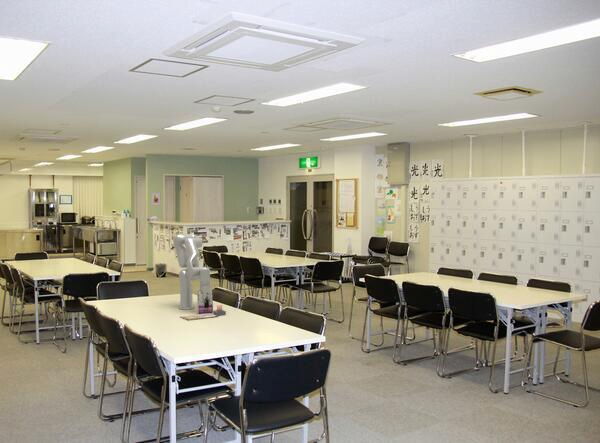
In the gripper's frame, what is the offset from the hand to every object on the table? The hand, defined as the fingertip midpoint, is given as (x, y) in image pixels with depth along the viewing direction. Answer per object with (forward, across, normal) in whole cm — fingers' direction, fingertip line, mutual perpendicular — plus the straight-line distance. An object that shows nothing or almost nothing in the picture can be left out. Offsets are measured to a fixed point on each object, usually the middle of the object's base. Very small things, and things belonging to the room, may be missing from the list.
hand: (205, 307), depth 425 cm
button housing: (+5, +12, +6) cm, 14 cm away
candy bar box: (+5, 0, 0) cm, 5 cm away
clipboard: (+5, +12, -10) cm, 16 cm away
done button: (+3, +12, +6) cm, 14 cm away
